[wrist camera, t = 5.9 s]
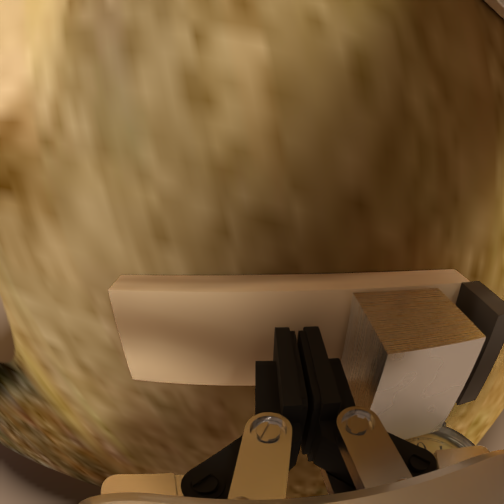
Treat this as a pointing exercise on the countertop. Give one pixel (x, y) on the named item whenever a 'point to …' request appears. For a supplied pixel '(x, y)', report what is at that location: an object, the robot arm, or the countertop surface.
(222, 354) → the track
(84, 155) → the countertop surface
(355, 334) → the block
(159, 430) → the countertop surface
